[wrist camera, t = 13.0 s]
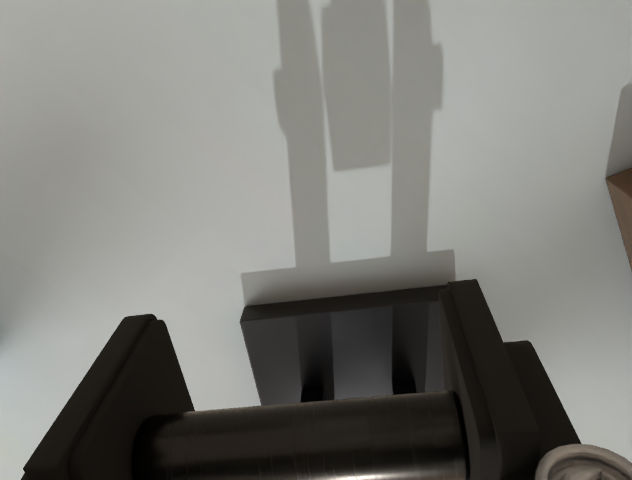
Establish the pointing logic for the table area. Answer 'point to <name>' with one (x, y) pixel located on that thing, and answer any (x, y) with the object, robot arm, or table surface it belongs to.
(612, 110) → the table surface
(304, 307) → the bracket
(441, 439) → the lever
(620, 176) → the panel
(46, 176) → the table surface
